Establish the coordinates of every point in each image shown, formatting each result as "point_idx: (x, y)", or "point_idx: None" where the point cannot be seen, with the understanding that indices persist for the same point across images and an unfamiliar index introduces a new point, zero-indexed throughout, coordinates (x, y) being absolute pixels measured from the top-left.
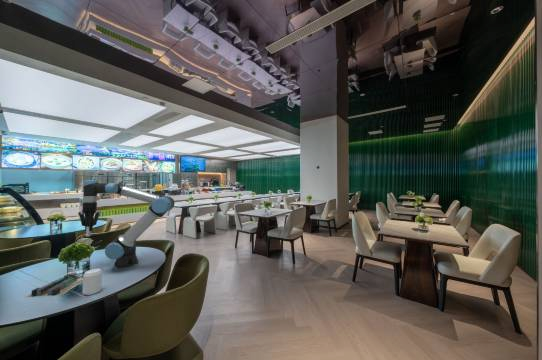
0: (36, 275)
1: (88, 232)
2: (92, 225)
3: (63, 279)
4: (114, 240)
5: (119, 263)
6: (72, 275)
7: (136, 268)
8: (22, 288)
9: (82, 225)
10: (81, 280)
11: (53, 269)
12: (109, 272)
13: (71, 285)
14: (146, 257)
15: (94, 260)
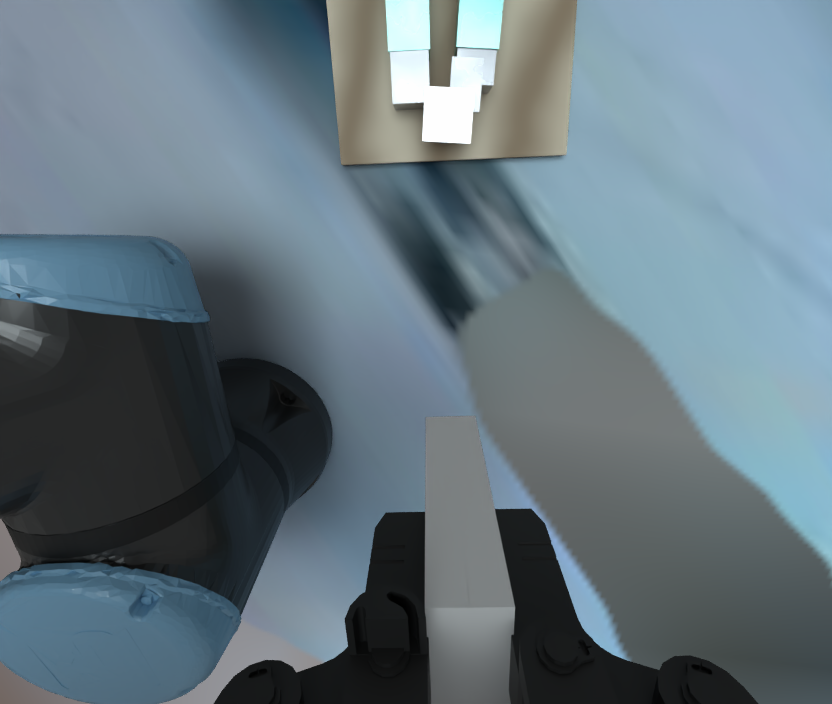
0: (814, 312)
1: (428, 469)
2: (289, 671)
3: (457, 20)
4: (4, 382)
5: (243, 381)
6: (425, 87)
7: None
8: (759, 49)
9: (705, 676)
10: (363, 112)
11: (759, 416)
12: (285, 299)
13: (369, 2)
14: None
15: (565, 551)
